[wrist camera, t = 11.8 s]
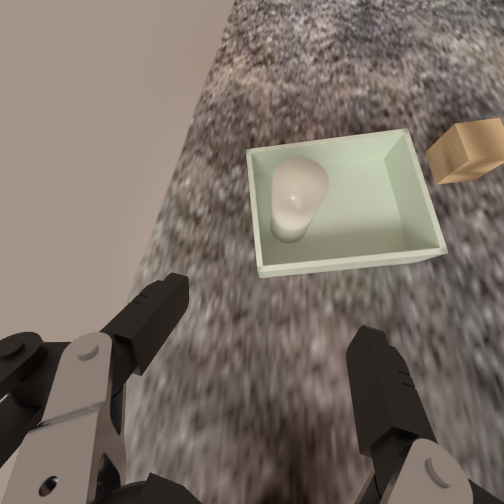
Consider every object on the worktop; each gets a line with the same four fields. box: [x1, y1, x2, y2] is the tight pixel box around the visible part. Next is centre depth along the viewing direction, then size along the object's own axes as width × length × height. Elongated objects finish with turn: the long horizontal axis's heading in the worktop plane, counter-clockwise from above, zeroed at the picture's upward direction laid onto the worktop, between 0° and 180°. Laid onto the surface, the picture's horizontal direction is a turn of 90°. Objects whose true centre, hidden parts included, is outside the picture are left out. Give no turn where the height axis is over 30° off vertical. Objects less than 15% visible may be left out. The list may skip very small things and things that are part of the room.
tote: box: [246, 128, 448, 278], centre depth 26 cm, size 19×15×5 cm
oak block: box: [425, 118, 504, 184], centre depth 27 cm, size 5×5×5 cm
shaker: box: [270, 157, 329, 243], centre depth 23 cm, size 5×5×10 cm
